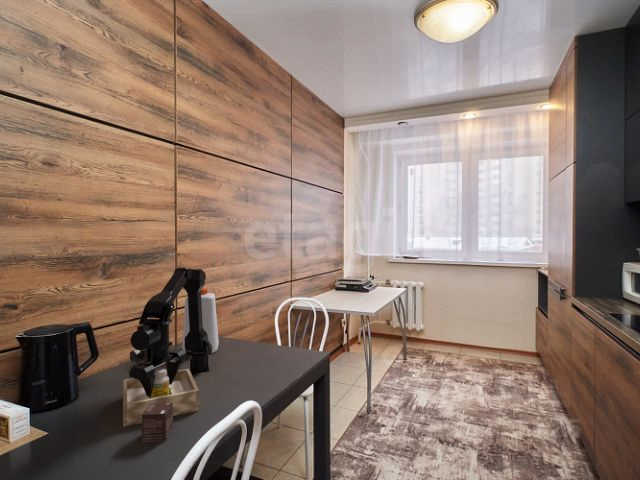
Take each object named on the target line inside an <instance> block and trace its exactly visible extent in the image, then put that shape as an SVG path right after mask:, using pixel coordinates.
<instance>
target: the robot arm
mask: <svg viewBox="0 0 640 480" xmlns="http://www.w3.org/2000/svg"><path fill="white" fill-rule="evenodd" d="M206 279H207V275H206V272H205V271H204V270H203V269H202V268H191V267H176V268H175V269H174V271H173V274H172V275H171V277H170V278H169V280H168V281H167V283H166V284H165V286H164V287H163V288H162V290H161V291H160V292H159V293H157V294H155V295H152V297H151V298H149V300H147V302H146V304H145V305H144V307H143V310H142V312H141V316H140V319H139V321H138V325H137V326H136V331H134V332H133V333H132V335H131V338H130V344H131V346H132V348H133V349H134V350H131V351H129V360H130V362H132V363H135V364H136V365H134V366H131V367H130V368H129V370H128V371H129V372H128V374H129V375H128V376H129V378H134V379H138V380H139V381H140V382H141V384H142V386H143V388H144V390H145V393H146V395H147V397H151V394H152V391H153V386H154V381H155V376H156V375H154V373H155V370H156V368H157V369H158V368H159V367H161V366H163V365H165V367H166V370H167V376H168V377H169V385H171V384H172V383H173V380H174V378H175V376H176V374H177V372H178V370H180V368H181V366H182V365H183V363H184V362H185V360H186V359H187V356H190V357H188V369H189V370H190V372H191V374H196V373H202V372H208V371H210V368H209V356H210V355H212V354H213V353H212V345H211V343H210V342H209V340H208V334H207V333H206V331H205V330H204V329H203V322H202V303H201V290H202V288H205V287H204V286H205V285H206ZM183 289H184V291H185V292H186V294H187V296H188V312H189V332H188V334H187V336H186V337H185V351H186V352H185V351H184V350H182V349H178V348H172V349H170V347H171V346H173V341H170V324H171V323H172V321H173V320H172V319H171V317H172V315H173V312H174V310H175V306H176V305H175V300H176V298H177V297H178V296H179V295H180V292H181V290H183ZM143 361H144V363H140V362H143ZM138 363H139V364H138Z"/></svg>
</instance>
